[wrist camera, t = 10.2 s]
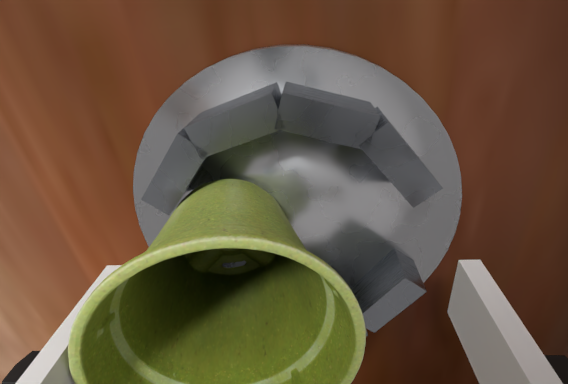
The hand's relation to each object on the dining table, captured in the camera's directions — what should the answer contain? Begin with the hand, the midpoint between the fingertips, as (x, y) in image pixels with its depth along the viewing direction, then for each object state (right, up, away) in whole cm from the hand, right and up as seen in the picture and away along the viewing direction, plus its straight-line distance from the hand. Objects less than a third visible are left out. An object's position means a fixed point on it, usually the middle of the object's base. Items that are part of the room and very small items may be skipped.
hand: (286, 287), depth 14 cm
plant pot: (-3, +2, +5) cm, 6 cm away
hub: (0, +3, +6) cm, 7 cm away
